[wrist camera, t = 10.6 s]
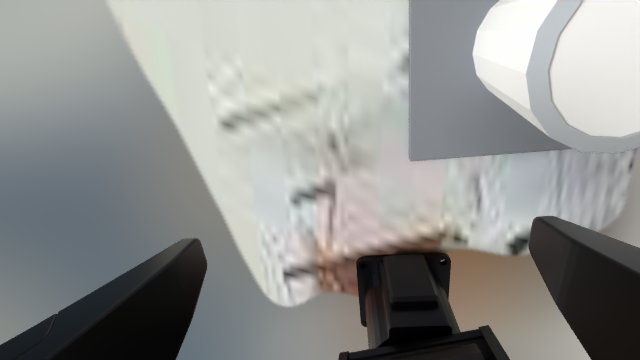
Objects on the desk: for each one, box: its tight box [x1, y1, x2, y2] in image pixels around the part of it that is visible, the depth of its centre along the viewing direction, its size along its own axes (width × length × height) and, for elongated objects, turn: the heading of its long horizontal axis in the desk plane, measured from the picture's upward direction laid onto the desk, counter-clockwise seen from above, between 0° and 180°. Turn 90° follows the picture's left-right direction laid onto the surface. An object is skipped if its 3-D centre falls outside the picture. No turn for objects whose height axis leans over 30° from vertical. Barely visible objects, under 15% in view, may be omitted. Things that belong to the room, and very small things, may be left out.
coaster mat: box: [409, 0, 573, 161], centre depth 17 cm, size 12×12×1 cm
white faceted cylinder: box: [473, 0, 640, 153], centre depth 14 cm, size 7×7×7 cm
